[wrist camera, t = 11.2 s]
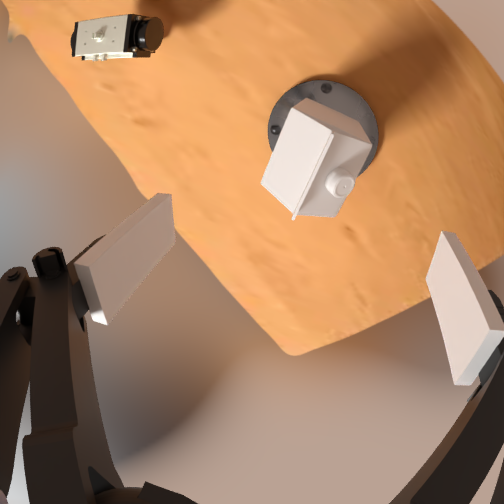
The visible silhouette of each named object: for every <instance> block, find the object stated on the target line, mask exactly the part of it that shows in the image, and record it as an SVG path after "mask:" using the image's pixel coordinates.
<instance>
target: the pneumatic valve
mask: <svg viewBox="0 0 504 504" xmlns="http://www.w3.org/2000/svg"><path fill="white" fill-rule="evenodd" d="M163 34H164V29H163V24H162V21H161V20H160V19H159V18H157V17H146V16H141V15H136V14H128V15H119V16H111V17H104V18H97V19H91V20H86V21H80V22H75V29H74V32H73V34H72V37H71V48H72V57H75V56H82V60H92V61H99V59H101V61H104V60H107V59H108V58H138V57H150V54H151V53H155V50H157V49H158V48H159V46H160V45H161V42H162V39H163Z"/></svg>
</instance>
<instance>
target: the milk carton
mask: <svg viewBox="0 0 504 504" xmlns="http://www.w3.org/2000/svg"><path fill="white" fill-rule="evenodd" d="M371 148H372V144H371V142H370V140H369V138H368V136H367V135H366V133H365V131H364V130H363V128H362V126H361V125H360V123H359V122H358V121H357V120H354V119H352V118H350V117H348V116H346V115H344V114H342V113H340V112H338V111H336V110H333V109H331V108H329V107H327V106H325V105H322V104H320V103H318V102H315V101H313V100H311V99H308V98H305V99H304V100H302V101H301V102H299V103H298V104H297V105H295V106H294V107H292V108H291V110H290V112H289V114H288V116H287V119H286V121H285V124H284V126H283V128H282V131H281V133H280V136H279V138H278V141H277V143H276V146H275V148H274V151H273V153H272V155H271V158H270V160H269V163H268V165H267V168H266V170H265V173H264V175H263V178H262V181H261V185H263V186H264V187H265V188H266V189H267V190H268V191H269V192H270V193H271V194H272V195H274V196H275V197H276V198H277V199H278V200H279V201H280V202H281V203H282V204H283V205H284V206H285V207H286V208H288V209H289V210H290V211H291V212H292V213H293V216H292V220H295V218H296V215H306V216H321V217H335V216H336V215H337V213H338V212H339V210H340V208H341V206H342V205H343V203H344V201H345V199H346V197H347V195H348V194H349V193H350V192H351V191H352V190H353V188H354V185H355V180H356V178H357V176H358V174H359V172H360V170H361V168H362V166H363V164H364V162H365V160H366V158H367V156H368V154H369V152H370V150H371Z"/></svg>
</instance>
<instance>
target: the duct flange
mask: <svg viewBox="0 0 504 504" xmlns="http://www.w3.org/2000/svg"><path fill="white" fill-rule="evenodd" d="M305 98H308V99H311V100H313V101H315V102H318V103H320V104H322V105H325V106H327V107H329V108H331V109H333V110H336V111H338V112H340V113H342V114H344V115H346V116H348V117H350V118H352V119H354V120H357V121H358V122H359V123H360V125H361V126H362V128H363V130H364V131H365V133H366V135H367V136H368V138H369V140H370V142H371V144H372V148H371V150H370V152H369V154H368V156H367V158H366V160H365V162H364V164H363V166H362V168H361V170H360V172H359V174H358V176H359V175H360V174H362V173H363V172H364V171H365V170H366V169H367V167H368V166H369V165H370V163H371V162H372V160H373V158H374V156H375V153H376V150H377V145H378V126H377V122H376V119H375V116H374V114H373V112H372V110H371V108H370V107H369V105H368V104H367V102H366V101H365V100H364V99H363V98H362V97H361V96H360V95H359V94H358V93H357V92H355V91H354V90H352V89H351V88H349V87H347V86H345V85H343V84H340V83H337V82H333V81H327V80H315V81H309V82H305V83H302V84H299V85H297V86H295V87H293V88H291V89H290V90H289V91H287V92H286V93H285V94H284V95H283V96H282V97H281V98H280V99H279V100H278V102H277V103H276V105H275V106H274V108H273V110H272V113H271V115H270V119H269V123H268V139H269V144H270V147H271V150H272V152H273V151H274V148H275V146H276V143H277V141H278V138H279V136H280V133H281V131H282V128H283V126H284V124H285V121H286V119H287V116H288V114H289V112H290V110H291V108H292V107H294V106H295V105H297V104H298V103H299V102H301V101H302V100H304V99H305ZM358 176H357V177H358Z"/></svg>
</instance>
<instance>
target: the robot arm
mask: <svg viewBox="0 0 504 504" xmlns="http://www.w3.org/2000/svg"><path fill="white" fill-rule="evenodd" d="M175 243H176V239H175V229H174V219H173V208H172V197H171V194H162V193H158V194H156V195H155V196H154V197H152V198H151V199H150V200H148V201H147V202H146V203H145V204H143V205H142V206H141V207H140V208H139V209H137V210H136V211H134V212H133V213H132V214H131V215H130V216H128V217H127V218H126V219H125V220H123V221H122V222H121V223H120V224H119V225H117V226H116V227H115V228H114V229H112V230H111V231H110V232H109V233H108V234H107V235H104V236H102V237H100V238H98V239H96V240H95V241H93V242H92V243H91V244H90V245H89V247H86V248H85V249H84V250H83V252H81V253H79V255H77V256H76V257H75V258H74V259H73V260H72V261H70V262H69V263H68V264H67V265H66V262H65V259H64V256H63V252H62V249H60V248H59V247H50V248H46V249H43V250H41V251H40V252H38V253H37V254H36V255H35V256H34V257H33V259H32V262H33V265H34V268H35V271H36V273H37V276H38V277H29V276H28V273H27V270H26V268H24V267H13V268H12V269H9V270H8V271H7V272H6V273H4V275H3V276H2V277H1V279H0V504H8V502H7V499H6V498H7V495H8V492H9V488H10V484H11V480H12V474H13V467H14V460H15V452H16V446H17V439H18V433H19V427H20V422H21V417H22V412H23V407H24V403H25V398H26V394H27V390H28V385H29V381H30V406H31V407H30V408H31V427H32V429H31V434H30V435H25V436H24V438H23V443H22V449H23V459H24V469H25V476H26V484H27V490H28V496H29V502H30V504H197V503H196V502H194V501H192V500H191V499H189V498H187V497H185V496H184V495H181V494H178V493H175V492H173V491H170V490H167V489H164V488H161V487H158V486H156V485H153V484H151V483H148V482H145V483H144V486H143V488H139V487H124V485H123V483H122V481H121V479H120V477H119V475H118V473H117V471H116V470H115V467H114V465H113V462H112V458H111V454H110V451H109V447H108V443H107V439H106V435H105V431H104V427H103V422H102V418H101V413H100V408H99V403H98V399H97V393H96V388H95V382H94V376H93V370H92V364H91V356H90V349H89V341H88V332H87V323H86V320H85V317H84V315H85V313H86V312H87V311H88V310H90V313H91V316H92V319H93V321H96V322H99V323H102V324H105V325H108V324H109V323H110V322H111V320H112V319H113V318H114V317H115V315H116V314H117V313H118V312H119V310H120V309H121V308H122V307H123V305H124V304H125V303H126V302H127V300H128V299H129V298H130V297H131V295H132V294H133V293H134V292H135V291H136V289H137V288H138V287H139V286H140V284H141V283H142V282H143V281H144V280H145V278H146V277H147V276H148V274H149V273H150V272H151V271H152V270H153V269H154V268H155V266H156V265H157V264H158V263H159V262H160V260H161V259H162V258H163V257H164V256H165V255H166V253H167V252H168V251H169V250H170V249H171V248H172V246H173V245H174V244H175ZM426 282H427V285H428V288H429V291H430V294H431V297H432V300H433V304H434V307H435V310H436V314H437V317H438V320H439V324H440V328H441V331H442V335H443V339H444V343H445V347H446V351H447V355H448V359H449V363H450V368H451V372H452V377H453V382H454V385H471V384H472V383H473V381H474V380H475V379H476V377H477V376H478V375H479V377H480V382H481V383H480V385H479V386H478V387H477V389H476V390H475V391H474V392H473V394H472V395H471V396H470V397H469V399H468V400H467V401H468V403H467V405H466V406H465V408H464V410H463V411H462V413H461V414H460V416H459V417H458V419H457V420H456V422H455V423H454V425H453V426H452V428H451V429H450V431H449V432H448V434H447V435H446V436H445V438H444V439H443V440H442V442H441V443H440V444H439V446H438V447H437V448H436V450H435V451H434V452H433V454H432V455H431V456H430V458H429V459H428V460H427V461H426V463H425V464H424V465H423V466H422V467H421V469H420V470H419V471H418V472H417V473H416V475H415V476H414V477H413V478H412V479H411V481H410V482H409V483H408V484H407V485H406V486H405V487H404V489H402V491H401V492H400V493H399V494H398V495H397V496H396V497H395V498H394V499H393V500H392V501H391V502H390V503H389V504H469V503H470V502H471V500H472V498H473V497H474V495H475V494H476V492H477V491H478V489H479V487H480V486H481V484H482V482H483V480H484V479H485V477H486V476H487V474H488V472H489V470H490V468H491V467H492V465H493V463H494V461H495V459H496V457H497V455H498V453H499V451H500V450H501V448H502V445H503V443H504V309H503V308H504V307H503V305H502V303H501V301H500V299H499V298H498V297H497V296H496V294H495V293H494V292H493V291H492V290H487V288H486V286H485V284H484V282H483V280H482V278H481V277H480V275H479V273H478V271H477V269H476V267H475V266H474V264H473V262H472V260H471V259H470V257H469V255H468V253H467V252H466V250H465V248H464V247H463V245H462V243H461V242H460V240H459V239H458V237H457V235H456V234H455V233H452V232H447V231H441V234H440V237H439V241H438V244H437V247H436V250H435V253H434V256H433V259H432V262H431V265H430V268H429V271H428V274H427V276H426ZM16 316H17V318H18V321H17V322H16ZM490 504H504V459H503V463H502V467H501V471H500V474H499V478H498V481H497V484H496V487H495V490H494V494H493V497H492V499H491V502H490Z"/></svg>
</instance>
